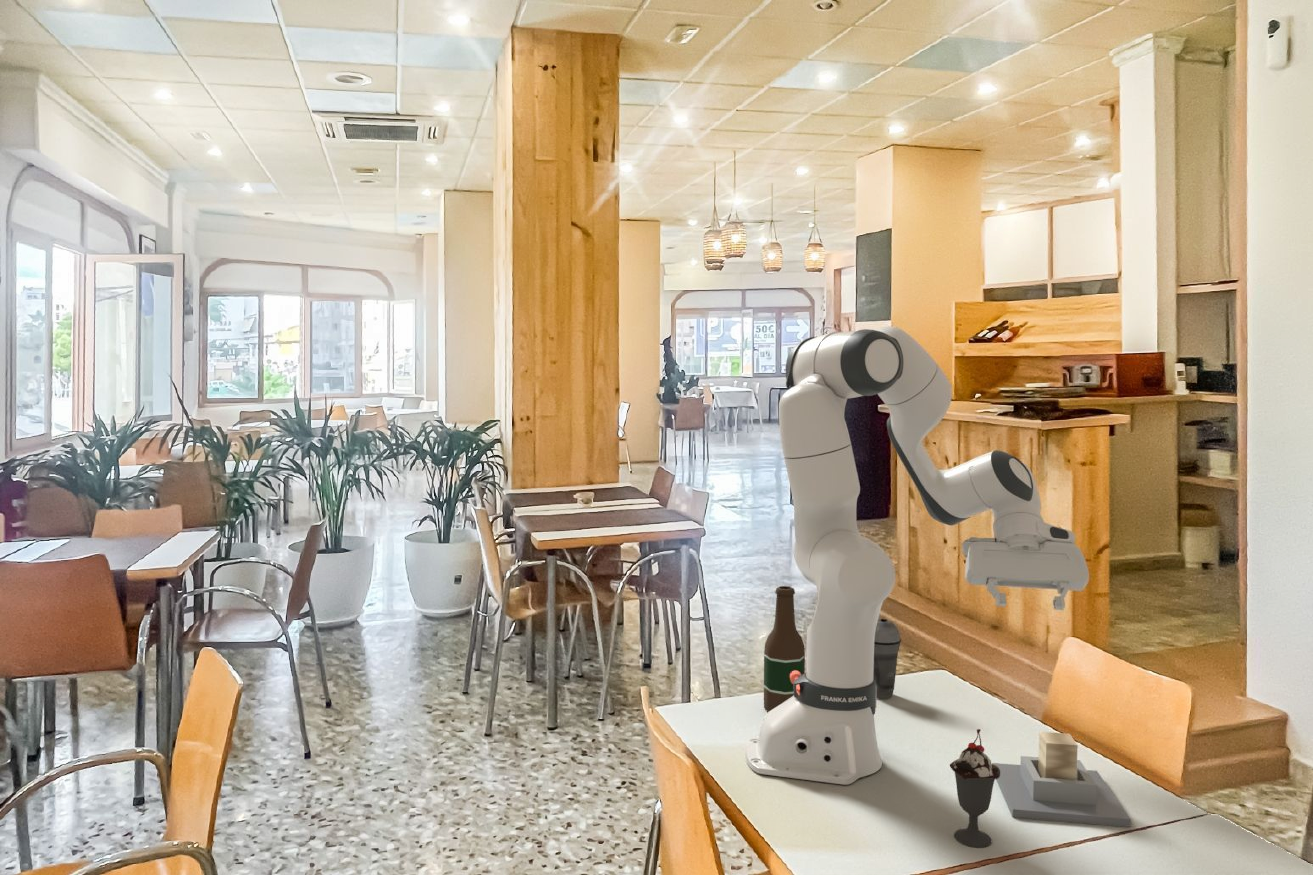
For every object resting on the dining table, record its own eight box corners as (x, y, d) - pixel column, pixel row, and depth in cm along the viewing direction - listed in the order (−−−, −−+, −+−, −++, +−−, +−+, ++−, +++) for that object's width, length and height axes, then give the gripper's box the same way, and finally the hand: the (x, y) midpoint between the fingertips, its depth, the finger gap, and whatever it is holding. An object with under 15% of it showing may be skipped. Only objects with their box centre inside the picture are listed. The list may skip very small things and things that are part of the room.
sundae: (986, 825, 129) (989, 723, 128) (1006, 850, 122) (1009, 743, 121) (940, 826, 128) (943, 724, 127) (958, 851, 122) (960, 743, 121)
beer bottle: (782, 699, 179) (783, 580, 177) (812, 711, 173) (814, 588, 171) (755, 709, 174) (756, 586, 172) (785, 720, 168) (786, 594, 166)
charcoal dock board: (1012, 817, 131) (1013, 789, 131) (992, 769, 147) (992, 745, 147) (1130, 827, 128) (1131, 798, 128) (1096, 777, 144) (1097, 752, 144)
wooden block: (1044, 794, 136) (1046, 742, 135) (1037, 781, 140) (1039, 731, 140) (1075, 796, 135) (1077, 745, 134) (1067, 783, 139) (1069, 733, 139)
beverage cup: (901, 703, 177) (903, 603, 176) (863, 700, 178) (865, 601, 177) (898, 690, 184) (900, 594, 183) (862, 687, 186) (864, 592, 184)
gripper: (963, 527, 162) (969, 592, 153) (1084, 532, 158) (1097, 600, 150) (958, 547, 167) (964, 612, 158) (1075, 552, 163) (1088, 619, 154)
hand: (1030, 606), depth 154 cm, fingers open, 8 cm apart
